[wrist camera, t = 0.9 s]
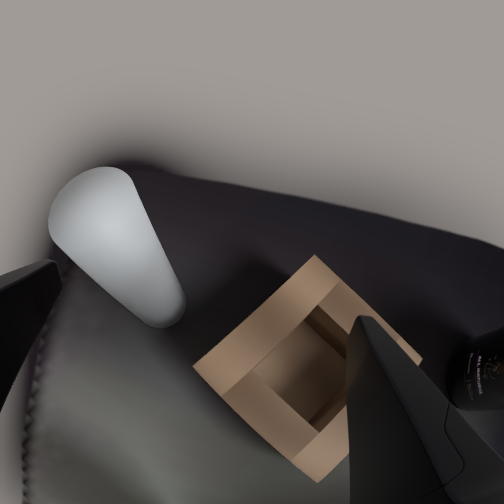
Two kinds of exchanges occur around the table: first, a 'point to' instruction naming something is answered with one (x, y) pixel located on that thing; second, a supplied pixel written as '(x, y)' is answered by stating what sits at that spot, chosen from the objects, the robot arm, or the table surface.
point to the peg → (117, 244)
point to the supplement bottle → (478, 373)
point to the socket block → (295, 367)
